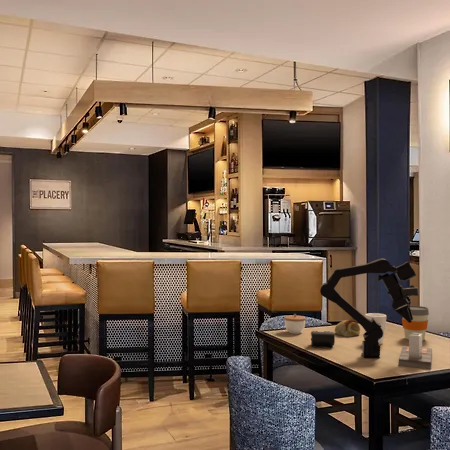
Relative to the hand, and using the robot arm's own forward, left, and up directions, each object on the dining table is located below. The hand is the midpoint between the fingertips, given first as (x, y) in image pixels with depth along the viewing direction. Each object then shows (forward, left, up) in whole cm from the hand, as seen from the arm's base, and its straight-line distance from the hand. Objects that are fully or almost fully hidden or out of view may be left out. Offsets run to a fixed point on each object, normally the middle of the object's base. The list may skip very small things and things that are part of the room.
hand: (411, 321), depth 226 cm
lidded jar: (-43, +51, -16) cm, 69 cm away
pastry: (-17, +49, -16) cm, 55 cm away
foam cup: (-7, +31, -16) cm, 36 cm away
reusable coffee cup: (+14, +41, -16) cm, 46 cm away
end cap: (-33, +22, -16) cm, 43 cm away
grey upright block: (+1, -4, -14) cm, 14 cm away
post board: (+2, +1, -16) cm, 16 cm away
